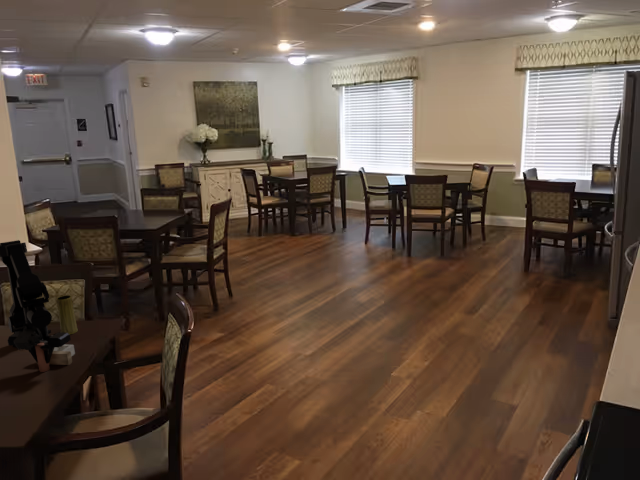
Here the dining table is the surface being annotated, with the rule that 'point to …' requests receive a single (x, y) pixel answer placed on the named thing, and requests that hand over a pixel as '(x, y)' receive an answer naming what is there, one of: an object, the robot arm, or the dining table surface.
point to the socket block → (66, 348)
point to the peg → (41, 358)
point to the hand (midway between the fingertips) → (43, 362)
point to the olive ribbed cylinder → (66, 314)
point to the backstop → (61, 358)
